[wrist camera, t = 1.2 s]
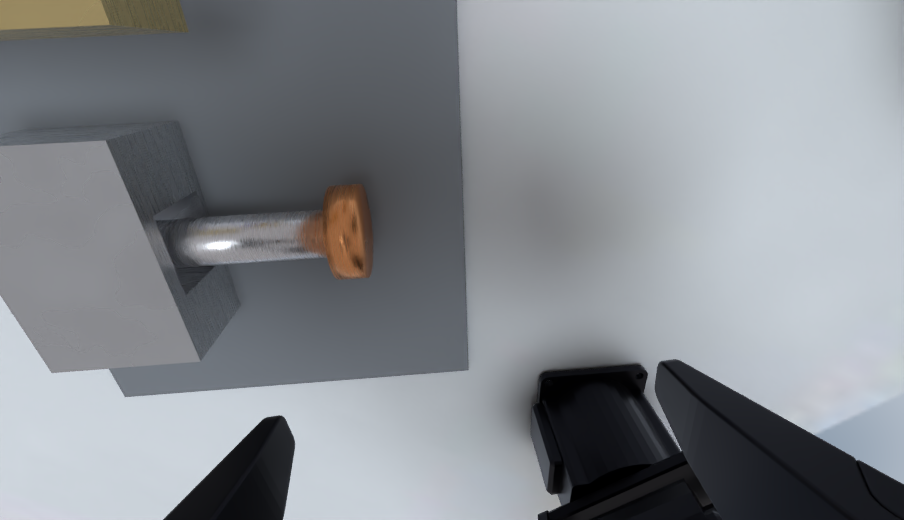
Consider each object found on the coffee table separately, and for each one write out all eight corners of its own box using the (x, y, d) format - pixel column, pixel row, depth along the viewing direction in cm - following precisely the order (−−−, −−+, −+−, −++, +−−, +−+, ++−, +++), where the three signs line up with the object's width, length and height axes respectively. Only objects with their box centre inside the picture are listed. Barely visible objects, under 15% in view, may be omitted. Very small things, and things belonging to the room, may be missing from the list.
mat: (448, -217, 13) (449, -222, 12) (467, 366, 24) (468, 370, 23) (-205, -201, 12) (-220, -207, 12) (128, 393, 23) (125, 397, 23)
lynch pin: (364, 172, 18) (350, 202, 14) (376, 252, 19) (365, 295, 16) (78, 189, 17) (-10, 224, 14) (116, 269, 19) (48, 318, 15)
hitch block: (182, 119, 17) (105, 140, 13) (243, 302, 21) (200, 361, 17) (31, 127, 16) (-95, 151, 12) (124, 310, 20) (51, 372, 16)
